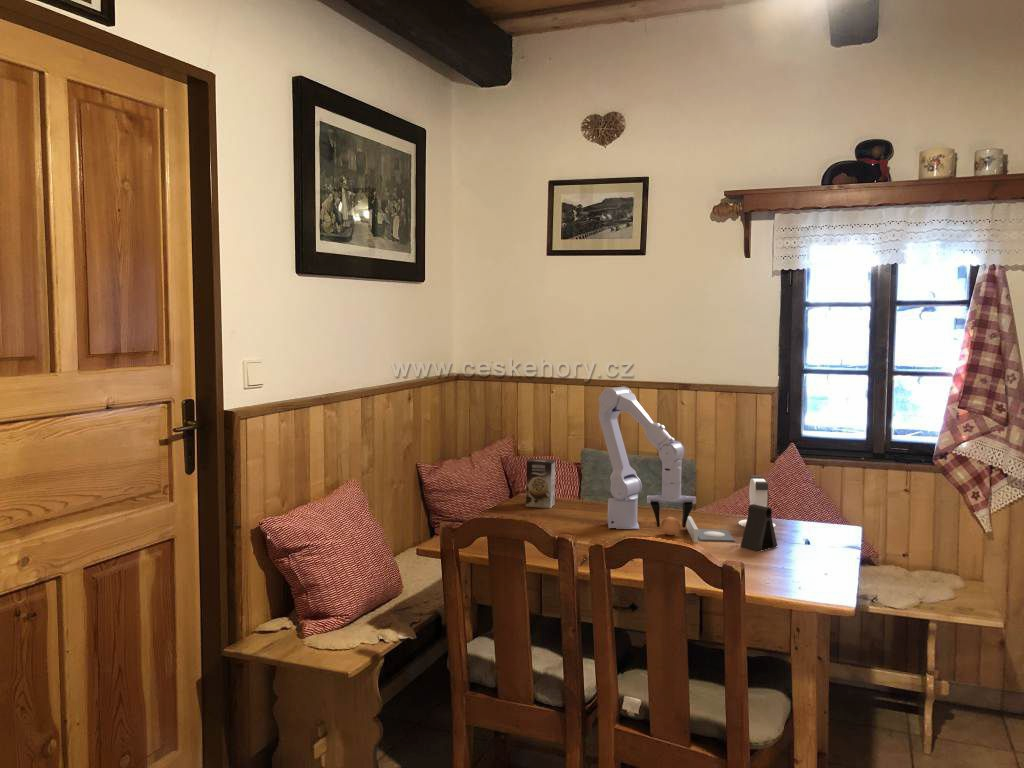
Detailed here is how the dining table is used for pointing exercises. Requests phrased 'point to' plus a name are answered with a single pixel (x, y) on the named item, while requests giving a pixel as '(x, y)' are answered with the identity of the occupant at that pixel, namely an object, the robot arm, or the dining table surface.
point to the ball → (670, 526)
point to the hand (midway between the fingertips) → (670, 526)
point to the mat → (714, 535)
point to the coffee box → (540, 483)
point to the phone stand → (759, 529)
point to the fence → (692, 529)
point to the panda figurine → (757, 494)
